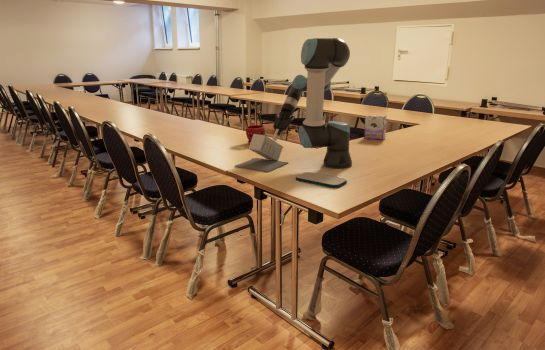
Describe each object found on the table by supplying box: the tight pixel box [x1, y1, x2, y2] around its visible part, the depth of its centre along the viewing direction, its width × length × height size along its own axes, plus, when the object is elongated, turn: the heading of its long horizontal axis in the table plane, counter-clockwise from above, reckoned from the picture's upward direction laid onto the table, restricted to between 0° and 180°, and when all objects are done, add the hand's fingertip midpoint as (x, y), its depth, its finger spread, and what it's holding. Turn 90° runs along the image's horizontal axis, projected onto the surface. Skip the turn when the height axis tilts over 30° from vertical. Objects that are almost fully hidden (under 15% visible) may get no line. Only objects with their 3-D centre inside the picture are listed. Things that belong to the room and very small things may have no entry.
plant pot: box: [245, 124, 266, 145], centre depth 262 cm, size 13×13×12 cm
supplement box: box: [248, 134, 284, 161], centre depth 213 cm, size 10×9×17 cm
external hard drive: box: [295, 171, 348, 189], centre depth 179 cm, size 24×12×2 cm, turn 52°
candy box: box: [363, 114, 387, 141], centre depth 267 cm, size 14×6×16 cm, turn 58°
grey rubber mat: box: [234, 157, 289, 173], centre depth 209 cm, size 22×20×1 cm
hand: (274, 139), depth 217 cm, fingers closed
